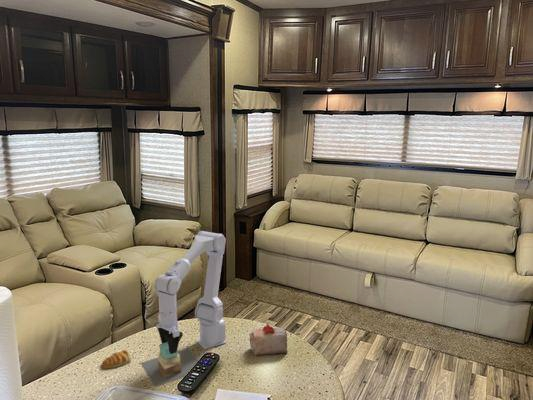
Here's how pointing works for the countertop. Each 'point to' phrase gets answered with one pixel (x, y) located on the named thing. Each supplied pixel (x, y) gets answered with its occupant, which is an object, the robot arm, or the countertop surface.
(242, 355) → the countertop surface
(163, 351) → the teal block
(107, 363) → the pastry
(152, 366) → the mat
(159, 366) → the tower base
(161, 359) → the tower mid
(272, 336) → the food item
